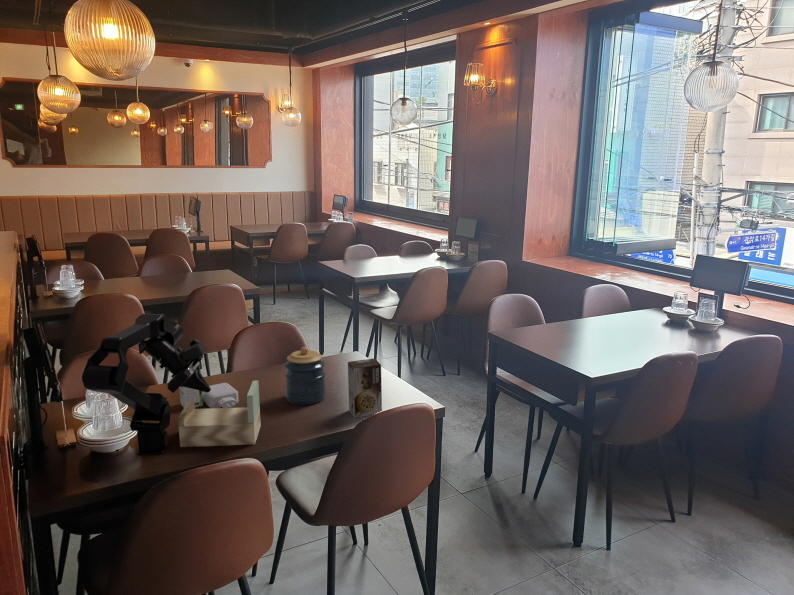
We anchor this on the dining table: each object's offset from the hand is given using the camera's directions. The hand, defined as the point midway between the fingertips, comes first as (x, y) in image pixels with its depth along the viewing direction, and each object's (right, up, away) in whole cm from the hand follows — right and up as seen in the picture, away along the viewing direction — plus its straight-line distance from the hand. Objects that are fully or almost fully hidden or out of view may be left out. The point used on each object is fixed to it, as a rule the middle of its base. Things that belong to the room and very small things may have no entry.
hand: (209, 391), depth 170 cm
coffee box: (+42, -10, +20) cm, 48 cm away
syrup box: (-14, -9, +25) cm, 30 cm away
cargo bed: (+3, -13, +3) cm, 14 cm away
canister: (+22, -7, +31) cm, 39 cm away
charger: (-3, -9, +26) cm, 27 cm away
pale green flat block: (+12, -7, +3) cm, 15 cm away
